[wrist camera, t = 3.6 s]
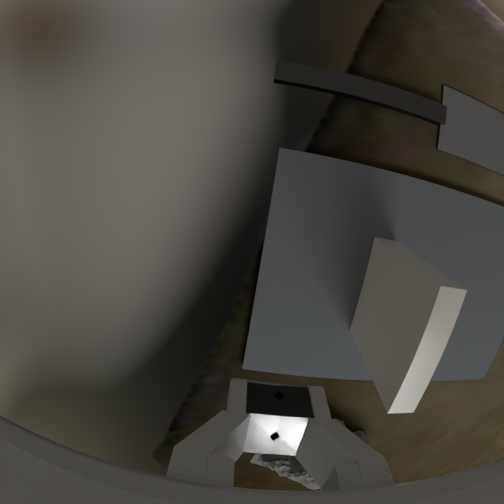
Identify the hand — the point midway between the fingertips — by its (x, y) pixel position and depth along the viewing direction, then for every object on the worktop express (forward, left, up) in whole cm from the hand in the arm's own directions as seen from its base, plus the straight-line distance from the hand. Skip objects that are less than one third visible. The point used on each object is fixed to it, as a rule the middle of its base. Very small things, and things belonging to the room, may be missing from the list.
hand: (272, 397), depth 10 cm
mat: (-11, 0, -13) cm, 17 cm away
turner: (-8, -13, -13) cm, 20 cm away
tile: (-7, 0, -12) cm, 14 cm away
